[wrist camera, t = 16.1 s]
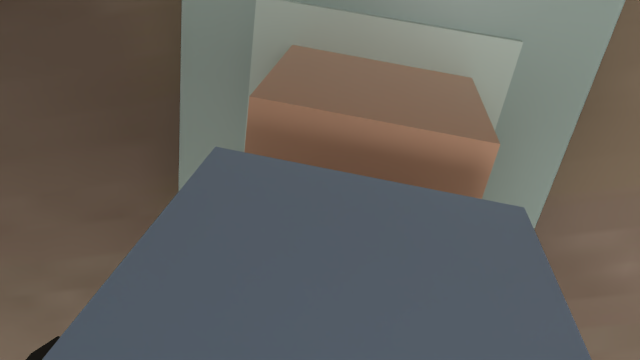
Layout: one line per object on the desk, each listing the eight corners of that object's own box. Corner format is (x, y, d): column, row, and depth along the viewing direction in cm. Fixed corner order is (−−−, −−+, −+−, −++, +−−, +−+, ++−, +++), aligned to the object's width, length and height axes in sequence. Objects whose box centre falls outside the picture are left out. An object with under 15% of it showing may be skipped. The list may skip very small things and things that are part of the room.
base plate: (195, -106, 20) (180, -107, 18) (625, -36, 19) (642, -32, 18) (186, 242, 27) (175, 258, 26) (494, 304, 26) (498, 324, 25)
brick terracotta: (292, 44, 20) (249, 96, 15) (471, 78, 20) (500, 144, 14) (273, 199, 24) (231, 291, 18) (427, 230, 23) (435, 334, 17)
